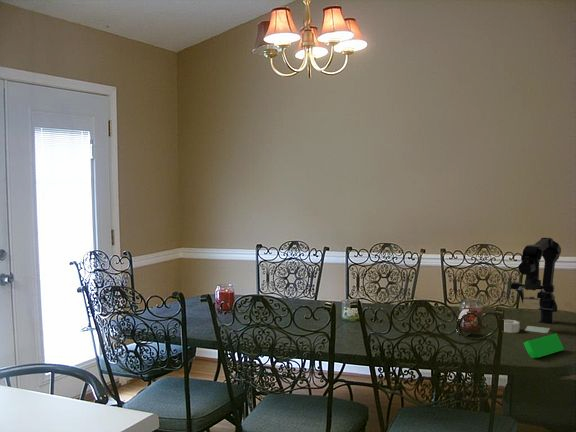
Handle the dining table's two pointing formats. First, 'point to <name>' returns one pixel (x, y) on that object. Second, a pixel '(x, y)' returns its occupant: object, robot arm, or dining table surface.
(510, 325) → the bowl
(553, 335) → the green rectangular block
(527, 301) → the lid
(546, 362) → the dining table surface
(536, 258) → the robot arm
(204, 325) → the dining table surface
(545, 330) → the mat
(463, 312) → the figurine
